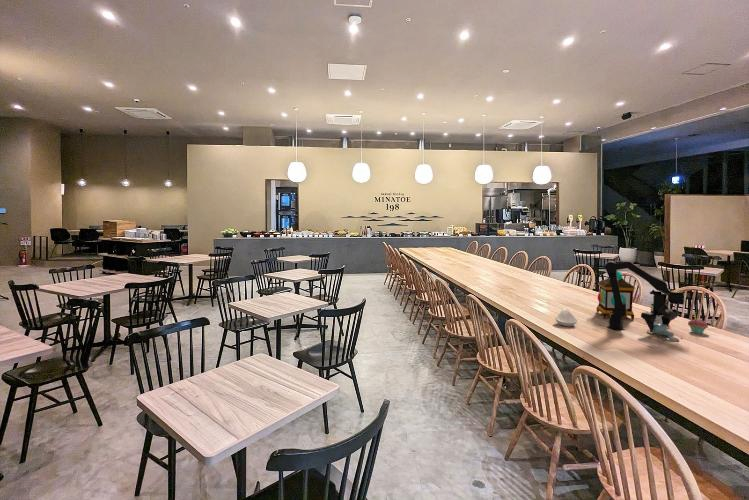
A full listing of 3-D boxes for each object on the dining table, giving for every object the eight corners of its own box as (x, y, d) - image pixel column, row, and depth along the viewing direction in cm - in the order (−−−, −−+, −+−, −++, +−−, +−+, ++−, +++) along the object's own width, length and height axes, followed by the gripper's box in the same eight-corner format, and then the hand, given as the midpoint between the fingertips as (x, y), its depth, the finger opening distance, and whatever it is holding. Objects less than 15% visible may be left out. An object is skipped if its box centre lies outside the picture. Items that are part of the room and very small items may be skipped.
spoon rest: (578, 328, 227) (578, 317, 226) (556, 327, 231) (556, 315, 231) (573, 318, 249) (574, 307, 248) (553, 317, 253) (553, 306, 253)
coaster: (670, 342, 200) (670, 341, 200) (654, 337, 209) (654, 336, 208) (683, 341, 202) (683, 340, 202) (667, 336, 210) (667, 335, 210)
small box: (663, 322, 238) (664, 305, 237) (669, 324, 232) (670, 307, 231) (649, 321, 238) (650, 305, 238) (655, 324, 233) (656, 307, 232)
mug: (648, 332, 217) (649, 323, 217) (659, 332, 218) (659, 322, 217) (666, 339, 206) (667, 329, 205) (677, 338, 207) (678, 328, 206)
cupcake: (689, 333, 215) (690, 312, 214) (685, 329, 222) (687, 308, 221) (709, 335, 211) (710, 313, 210) (705, 331, 218) (706, 310, 217)
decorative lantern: (601, 319, 246) (603, 272, 244) (593, 311, 265) (595, 268, 263) (637, 321, 241) (639, 273, 238) (627, 313, 260) (628, 269, 257)
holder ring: (659, 337, 209) (659, 335, 209) (642, 331, 219) (642, 330, 219) (674, 335, 211) (674, 334, 211) (657, 330, 221) (657, 329, 221)
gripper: (659, 307, 203) (658, 336, 205) (687, 304, 208) (686, 333, 209) (640, 302, 214) (639, 330, 216) (667, 300, 218) (666, 327, 220)
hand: (658, 330), depth 215 cm, fingers open, 9 cm apart
